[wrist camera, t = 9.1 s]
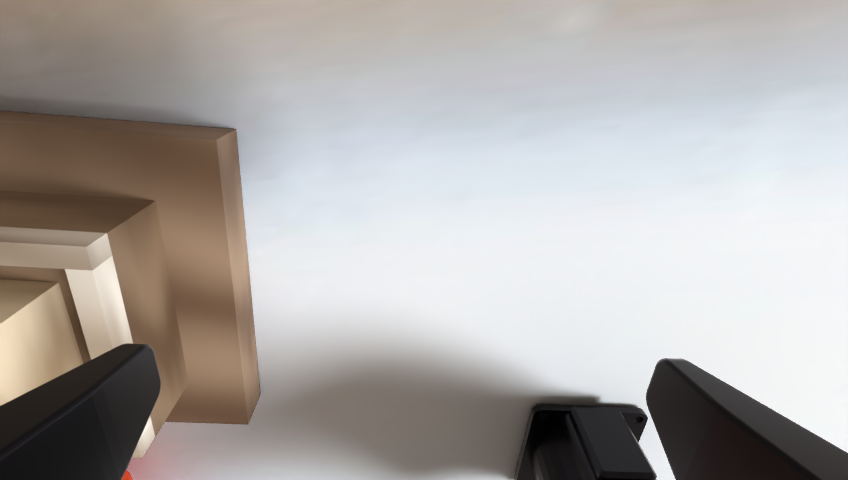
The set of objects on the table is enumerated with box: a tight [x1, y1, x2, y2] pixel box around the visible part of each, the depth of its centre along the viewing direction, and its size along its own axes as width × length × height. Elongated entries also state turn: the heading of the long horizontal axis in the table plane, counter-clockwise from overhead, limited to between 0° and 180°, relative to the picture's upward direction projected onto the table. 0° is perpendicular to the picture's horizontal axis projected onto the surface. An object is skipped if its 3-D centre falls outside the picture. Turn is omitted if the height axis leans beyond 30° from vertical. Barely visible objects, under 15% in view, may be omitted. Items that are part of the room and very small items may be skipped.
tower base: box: [0, 111, 260, 458], centre depth 17 cm, size 14×14×6 cm
